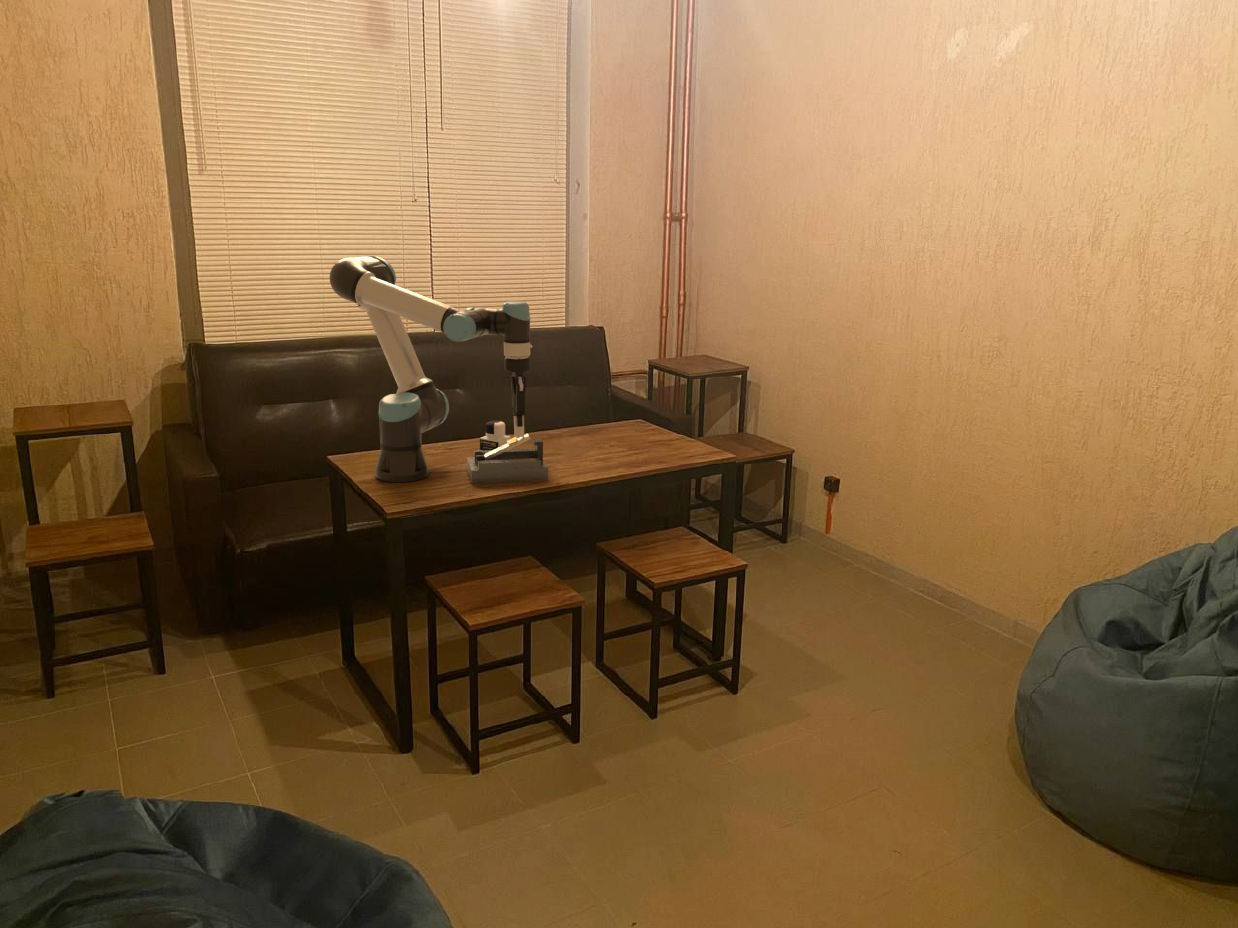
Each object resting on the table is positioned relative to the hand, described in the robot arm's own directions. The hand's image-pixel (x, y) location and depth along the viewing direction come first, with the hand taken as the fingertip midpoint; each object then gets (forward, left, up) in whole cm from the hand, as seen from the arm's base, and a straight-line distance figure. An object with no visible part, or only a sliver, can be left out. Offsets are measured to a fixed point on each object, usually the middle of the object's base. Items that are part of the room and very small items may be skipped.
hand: (519, 436), depth 263 cm
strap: (-4, 0, -4) cm, 6 cm away
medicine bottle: (-5, +18, -12) cm, 22 cm away
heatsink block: (-4, 0, -12) cm, 12 cm away
